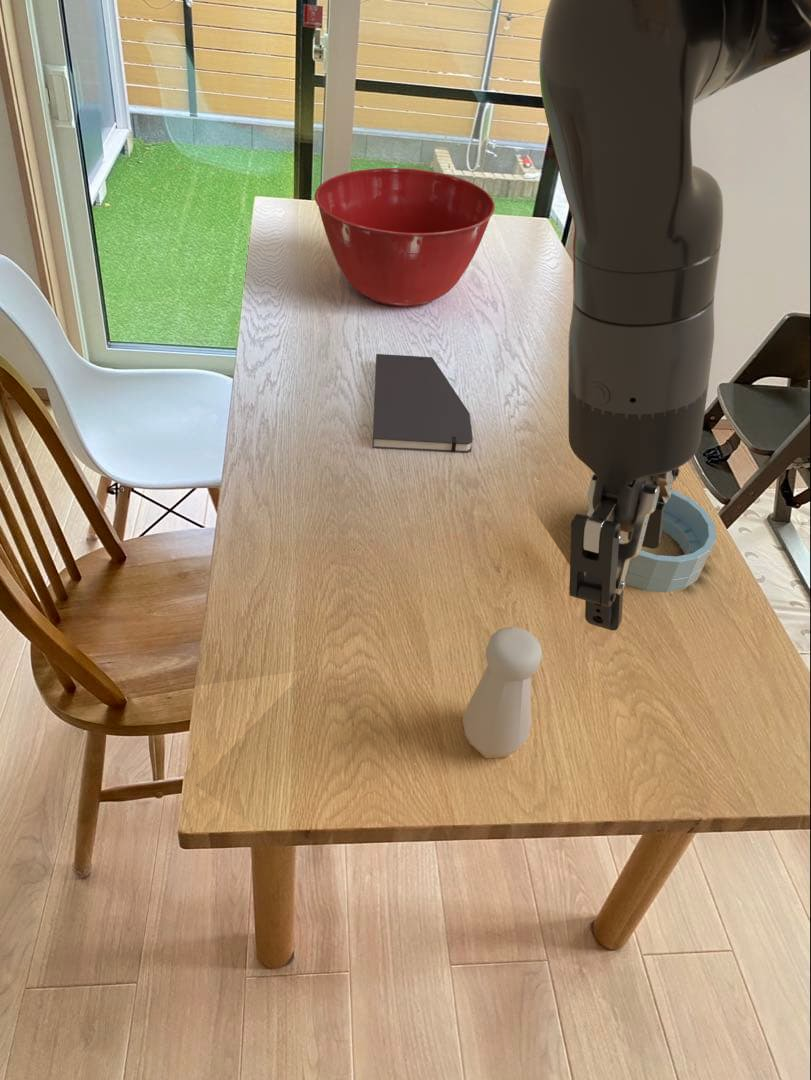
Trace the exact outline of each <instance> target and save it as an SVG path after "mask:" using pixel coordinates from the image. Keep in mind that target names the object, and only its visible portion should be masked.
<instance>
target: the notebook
mask: <svg viewBox="0 0 811 1080" xmlns="http://www.w3.org/2000/svg"><path fill="white" fill-rule="evenodd" d="M373 399H374V401H373V421H372V422H373V423H372V447H371V448H372V449H382V450H383V449H385V450H386V449H387V450H401V451H402V450H404V451H420V452H421V451H423V452H443V453H462V454H466V453H467V454H468V453H470V452H472V443H473V440H474V439H473V430H472V422H471V414H470V411H469V410H468V409H467V407H466V406H465V404H464V403H463V401H462V400H461V398H460V397H459V395H458V394H457V392H456V390H455V389H454V388H453V386H452V385H451V383H450V382H449V380H448V379H447V377H446V376H445V374H444V373H443V371H442V370H441V368H440V367H439V365H438V364H437V362H436V361H435V360H434V358H433V357H432V356H422V355H421V356H418V355H401V354H387V353H376V354H375V375H374V397H373Z"/></svg>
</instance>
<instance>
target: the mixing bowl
mask: <svg viewBox="0 0 811 1080" xmlns="http://www.w3.org/2000/svg"><path fill="white" fill-rule="evenodd" d="M314 200H315V203H316V204H317V206H318V210H319V214H320V218H321V221H322V225H323V228H324V232H325V235H326V238H327V241H328V245H329V247H330V248H331V249H330V250H331V252H332V254H333V256H334V258H335V260H336V263H337V265H338V267H339V269H340V271H341V272H342V274H343V276H344V277H345V279H346V280H347V281H348V283H349V284H350V285H351V286H352V287H353V289H355V290H356V291H358V292H359V293H360V294H362V295H363V296H365V297H367V298H368V297H369V298H368V299H370V298H371V299H373V300H375V301H377V302H376V303H378V302H379V304H381V303H382V304H381V305H385V306H389V307H397V308H398V307H399V308H412V307H420V306H424V305H426V304H429V303H432V302H433V301H435V300H438V299H440V298H441V297H443V296H445V295H446V294H447V293H449V292H450V291H451V290H452V289H453V288H454V287H455V286H456V285H457V283H458V282H459V281H460V279H461V278H462V277H463V275H464V273H465V272H466V271H467V269H468V267H469V265H470V264H471V262H472V261H473V258H474V257H475V254H476V252H477V251H478V249H479V246H480V245H481V242H482V240H483V238H484V235H485V232H486V230H487V228H488V224H489V223H490V220H491V218H492V216H493V215H494V214H495V213H494V212H495V209H496V205H495V204H496V203H495V201H494V199H493V197H492V196H491V195H490V194H489V193H488V192H487V191H486V190H484V189H483V188H482V187H481V186H478V185H477V184H475V183H473V182H470V181H469V180H466V179H463V178H460V177H457V176H455V175H450V174H446V173H442V172H435V171H432V170H426V169H425V170H424V169H416V168H402V167H380V168H369V169H368V168H367V169H359V170H354V171H349V172H345V173H342V174H338V175H335V176H333V177H331V178H329V179H327V180H325V181H323V182H322V183H320V185H319V186H318V187H317V189H316V191H315V193H314ZM371 299H370V300H371ZM373 300H372V301H373ZM375 301H374V302H375Z"/></svg>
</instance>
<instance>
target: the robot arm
mask: <svg viewBox="0 0 811 1080" xmlns="http://www.w3.org/2000/svg"><path fill="white" fill-rule="evenodd" d="M808 51H811V0H549V3H548V6H547V9H546V13H545V17H544V22H543V26H542V33H541V38H540V48H539V61H538V63H539V64H538V65H539V83H540V93H541V99H542V105H543V109H544V115H545V118H546V119H545V120H546V123H547V127H548V131H549V135H550V139H551V143H552V146H553V147H552V148H553V151H554V155H555V159H556V163H557V168H558V172H559V177H560V181H561V185H562V187H563V191H564V194H565V195H564V196H565V198H566V201H567V205H568V208H569V211H570V213H571V217H572V221H573V236H572V237H573V239H572V310H571V316H570V323H569V330H568V343H567V345H568V346H567V348H568V351H567V352H568V353H567V354H568V355H567V357H568V358H567V359H568V360H567V361H568V363H567V364H568V365H567V366H568V368H567V369H568V370H567V371H568V372H567V373H568V374H567V375H568V377H567V379H568V380H567V381H568V382H567V385H568V387H567V388H568V389H567V390H568V391H567V392H568V393H567V394H568V395H567V396H568V398H567V399H568V400H567V401H568V405H567V406H568V442H569V443H568V444H569V446H570V449H571V451H572V452H573V454H574V455H575V456H576V458H578V460H579V461H581V462H582V463H583V464H584V465H585V466H586V467H587V468H588V469H590V470H591V472H593V475H592V477H591V479H590V483H589V486H588V491H587V500H588V502H589V503H588V509H587V513H586V514H582V513H577V512H576V514H575V515H574V517H573V518H572V520H571V523H570V554H569V556H570V557H569V585H568V586H569V587H568V590H569V592H568V594H569V596H570V597H572V598H575V599H579V600H582V601H584V602H585V604H584V605H585V607H584V609H585V610H584V612H585V613H584V619H585V621H586V622H587V623H588V624H589V625H592V626H596V627H599V628H602V629H606V630H609V631H617V630H618V629H619V627H620V625H621V623H622V619H623V604H624V590H625V587H626V585H625V578H626V574H627V570H628V566H629V562H630V559H631V558H634V557H637V556H638V555H639V554H640V552H641V550H642V547H644V548H647V549H653V550H654V549H657V548H658V547H659V546H660V544H661V542H662V536H663V531H662V527H663V517H664V507H665V504H662V503H667V501H668V499H669V498H670V496H671V492H670V491H671V489H672V487H673V484H674V482H675V481H676V480H677V477H679V475H680V467H682V466H684V465H685V464H687V463H688V462H689V461H690V460H691V459H693V457H694V456H695V455H696V453H697V452H698V450H699V448H700V446H701V443H702V437H703V436H702V435H703V429H704V421H705V413H706V406H707V397H708V391H709V381H710V375H711V374H710V373H711V366H712V357H713V350H714V344H715V343H714V342H715V317H714V316H715V312H714V311H715V307H714V306H715V293H716V286H717V279H718V278H717V277H718V269H719V260H720V254H721V247H722V246H721V245H722V244H721V243H722V237H723V227H724V226H723V225H724V199H723V193H722V189H721V187H720V185H719V183H718V181H717V180H716V179H715V177H713V175H712V174H711V173H709V172H708V171H706V170H704V169H703V168H701V167H698V166H696V165H693V153H692V151H693V150H692V115H693V110H694V106H695V105H696V104H698V103H700V102H701V101H704V100H705V99H707V98H709V97H711V96H712V95H714V94H716V93H719V92H721V91H723V90H724V89H727V88H730V87H731V86H733V85H735V84H737V83H739V82H742V81H744V80H747V79H748V78H750V77H753V76H754V75H757V74H759V73H761V72H763V71H765V70H768V69H769V68H772V67H774V66H777V65H779V64H781V63H783V62H787V61H788V60H791V59H793V58H795V57H797V56H800V55H801V54H804V53H806V52H808ZM661 502H662V503H661ZM621 532H624V533H627V540H628V542H626V543H624V542H625V541H624V542H620V541H621V540H622V535H621Z"/></svg>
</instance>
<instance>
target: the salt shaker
mask: <svg viewBox="0 0 811 1080" xmlns="http://www.w3.org/2000/svg"><path fill="white" fill-rule="evenodd" d="M542 657H543V649H542V646H541V642H540V641H539V640H538V638H537V637H536V636H535V635H534V634H533V633H532V632H529V631H527V630H526V629H524V628H520V627H514V626H513V627H512V626H508V627H504V628H500V629H498V630H497V631H495V632H494V633H493V634H492V635H491V636H490V638H489V639H488V642H487V645H486V649H485V658H486V663H487V666H486V668H485V670H484V672H483V674H482V676H481V678H480V680H479V682H478V684H477V686H476V687H475V690H474V692H473V694H472V695H471V697H470V699H469V702H467V705H466V708H465V710H464V712H463V713H464V714H463V716H462V725H463V731H464V735H465V737H466V739H467V741H468V743H469V745H470V746H471V747H472V748H473V749H475V750H476V751H477V752H478V753H479V754H480V755H481V756H483V757H484V758H485V759H497V758H498V759H499V758H508V757H510V756H511V755H513V754H515V753H516V752H517V751H519V750H520V749H521V747H523V746H524V745H525V744H526V743H527V741H528V739H529V736H530V733H531V729H532V676H534V674H536V673H537V671H538V670H539V668H540V666H541V665H540V664H541V661H542Z"/></svg>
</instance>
